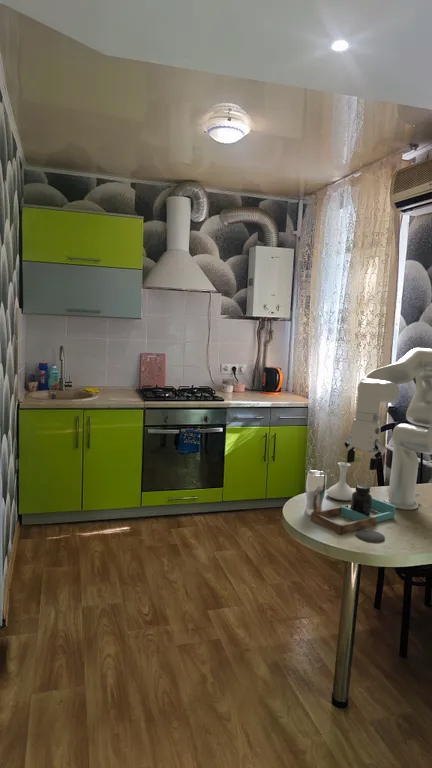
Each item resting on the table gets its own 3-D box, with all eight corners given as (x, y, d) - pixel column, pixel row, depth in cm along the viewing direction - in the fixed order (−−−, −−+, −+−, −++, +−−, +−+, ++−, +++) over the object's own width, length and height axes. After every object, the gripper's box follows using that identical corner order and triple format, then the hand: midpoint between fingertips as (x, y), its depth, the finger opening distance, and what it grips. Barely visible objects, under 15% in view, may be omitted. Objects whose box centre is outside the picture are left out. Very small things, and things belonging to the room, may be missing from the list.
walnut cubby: (345, 512, 188) (346, 504, 188) (375, 525, 177) (376, 517, 177) (310, 521, 177) (311, 512, 177) (340, 535, 167) (341, 526, 167)
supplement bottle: (345, 516, 184) (348, 484, 182) (358, 514, 188) (362, 482, 186) (360, 523, 178) (363, 490, 177) (373, 520, 182) (377, 487, 180)
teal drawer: (369, 507, 194) (371, 497, 194) (394, 517, 186) (395, 506, 185) (340, 515, 184) (341, 503, 184) (364, 525, 176) (365, 513, 176)
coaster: (367, 529, 174) (367, 527, 173) (390, 539, 166) (390, 537, 166) (349, 534, 168) (349, 532, 168) (372, 544, 161) (372, 542, 161)
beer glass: (323, 518, 181) (327, 476, 179) (303, 516, 182) (307, 474, 180) (322, 511, 187) (326, 471, 186) (303, 509, 188) (307, 469, 187)
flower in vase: (325, 500, 200) (331, 437, 197) (326, 491, 211) (332, 431, 208) (360, 505, 197) (367, 441, 194) (359, 496, 208) (365, 435, 205)
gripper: (395, 421, 173) (389, 471, 174) (353, 412, 186) (348, 458, 188) (381, 422, 168) (375, 473, 170) (339, 413, 182) (335, 460, 184)
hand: (361, 465), depth 179 cm, fingers open, 9 cm apart
